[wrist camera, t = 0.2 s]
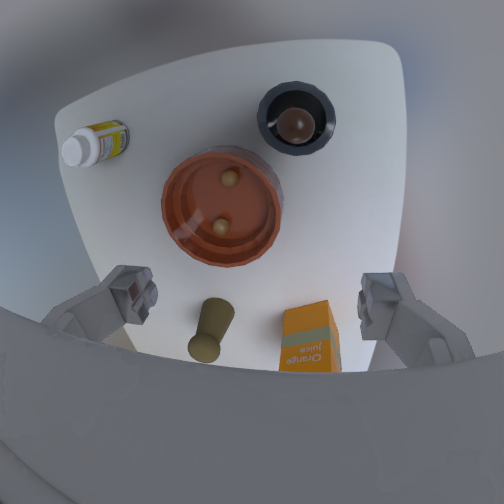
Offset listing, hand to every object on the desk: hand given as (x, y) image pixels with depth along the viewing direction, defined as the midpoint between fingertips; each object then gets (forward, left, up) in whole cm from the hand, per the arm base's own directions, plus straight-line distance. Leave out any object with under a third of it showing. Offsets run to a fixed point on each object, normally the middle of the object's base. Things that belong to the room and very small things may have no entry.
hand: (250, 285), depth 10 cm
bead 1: (-1, -8, -25) cm, 26 cm away
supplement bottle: (-17, -19, -27) cm, 37 cm away
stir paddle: (-4, +4, -26) cm, 27 cm away
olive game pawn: (+17, -24, -27) cm, 40 cm away
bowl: (+1, -10, -27) cm, 29 cm away
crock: (-4, +4, -27) cm, 28 cm away
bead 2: (+4, -13, -25) cm, 28 cm away
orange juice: (+27, -10, -27) cm, 40 cm away
